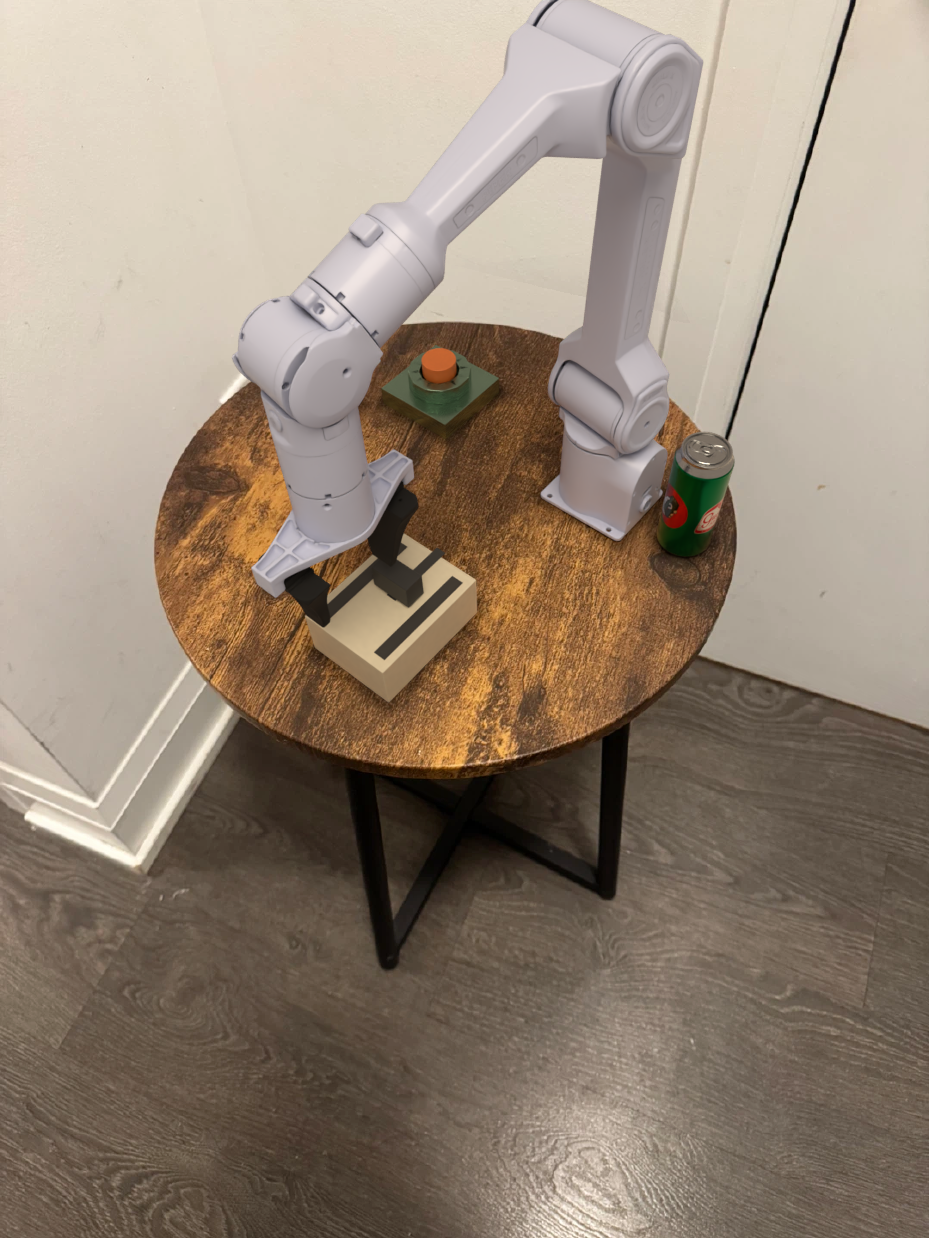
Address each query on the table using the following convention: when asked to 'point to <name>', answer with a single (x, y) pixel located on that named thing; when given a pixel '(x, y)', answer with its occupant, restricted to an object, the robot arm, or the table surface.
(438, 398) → the panel
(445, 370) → the button
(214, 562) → the table surface
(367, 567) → the toaster
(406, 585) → the block
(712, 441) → the soda can
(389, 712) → the table surface
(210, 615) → the table surface
